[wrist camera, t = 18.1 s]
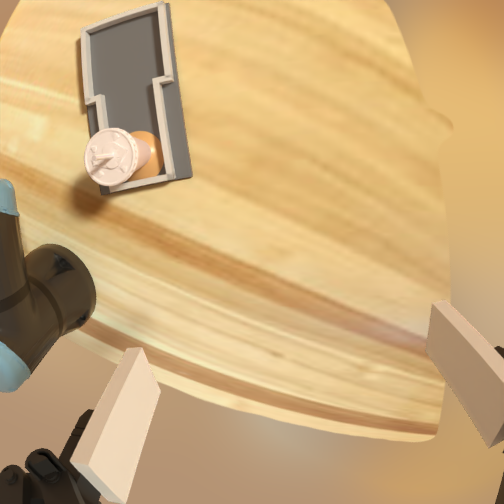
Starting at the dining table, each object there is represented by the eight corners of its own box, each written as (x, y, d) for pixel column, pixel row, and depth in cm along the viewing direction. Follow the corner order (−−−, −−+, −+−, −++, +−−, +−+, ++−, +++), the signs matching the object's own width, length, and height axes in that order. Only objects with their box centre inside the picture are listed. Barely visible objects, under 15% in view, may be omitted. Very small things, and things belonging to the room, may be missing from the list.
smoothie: (166, 169, 40) (126, 182, 26) (123, 182, 40) (72, 201, 27) (154, 123, 38) (110, 116, 24) (112, 139, 38) (56, 140, 25)
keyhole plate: (103, 194, 41) (97, 197, 39) (84, 32, 33) (77, 28, 31) (193, 176, 41) (190, 177, 39) (169, 4, 32) (166, -2, 30)
